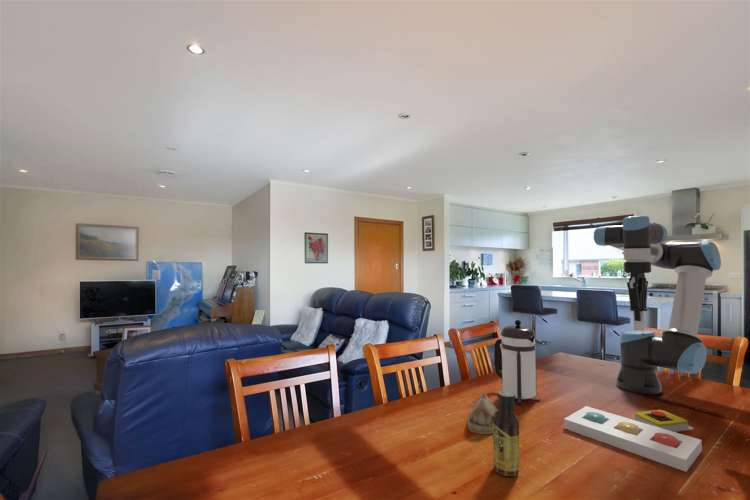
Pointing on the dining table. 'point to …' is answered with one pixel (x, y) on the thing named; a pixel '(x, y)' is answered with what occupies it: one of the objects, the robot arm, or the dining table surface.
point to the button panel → (636, 438)
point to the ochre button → (628, 428)
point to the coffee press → (517, 361)
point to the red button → (666, 439)
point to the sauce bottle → (506, 436)
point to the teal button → (595, 417)
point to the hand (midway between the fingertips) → (639, 330)
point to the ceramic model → (482, 416)
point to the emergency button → (663, 420)
